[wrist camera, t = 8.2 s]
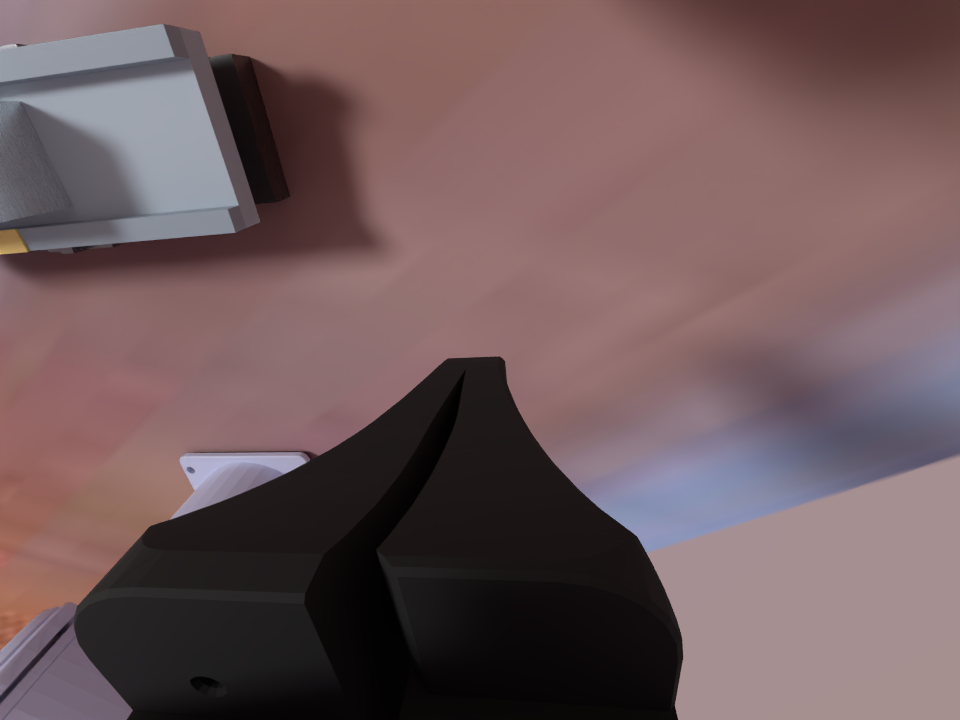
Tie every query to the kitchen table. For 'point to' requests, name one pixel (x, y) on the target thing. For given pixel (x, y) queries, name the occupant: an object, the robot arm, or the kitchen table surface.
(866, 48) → the kitchen table surface
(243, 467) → the robot arm
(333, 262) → the kitchen table surface
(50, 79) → the beam
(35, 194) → the block
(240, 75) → the stand
